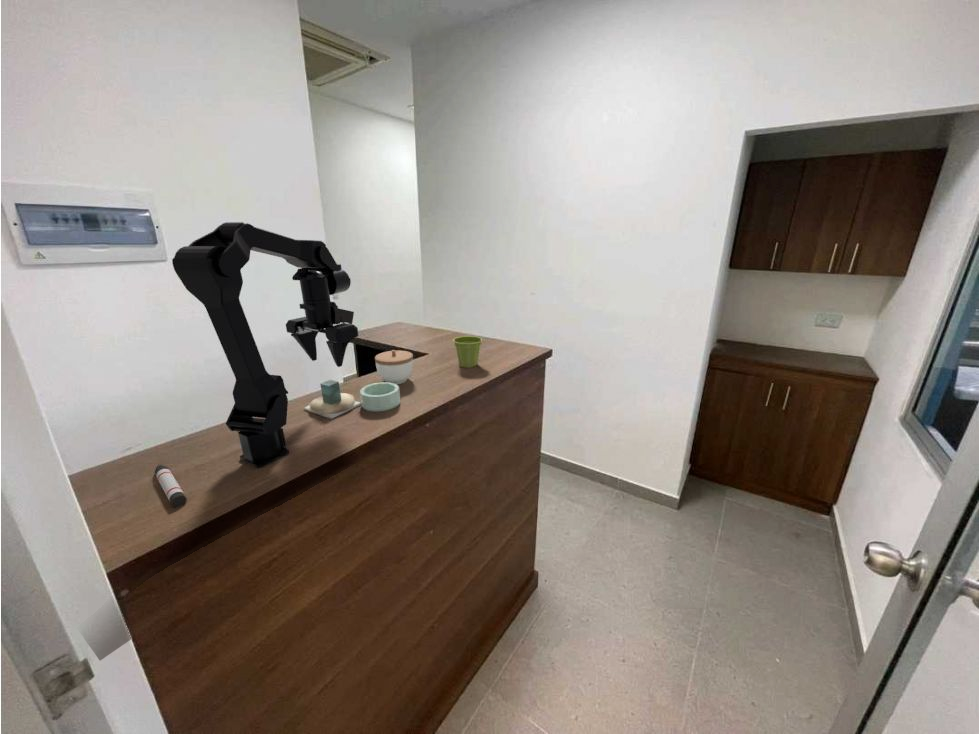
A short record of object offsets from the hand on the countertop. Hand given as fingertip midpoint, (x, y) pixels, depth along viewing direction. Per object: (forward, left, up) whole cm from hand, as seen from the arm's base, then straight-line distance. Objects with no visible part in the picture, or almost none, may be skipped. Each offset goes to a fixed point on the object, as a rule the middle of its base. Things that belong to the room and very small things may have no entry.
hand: (326, 363), depth 92 cm
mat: (0, 0, -12) cm, 12 cm away
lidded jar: (+21, -1, -12) cm, 24 cm away
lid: (0, 0, -11) cm, 11 cm away
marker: (-36, -2, -12) cm, 38 cm away
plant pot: (+44, -12, -12) cm, 47 cm away
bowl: (+7, -9, -12) cm, 16 cm away
